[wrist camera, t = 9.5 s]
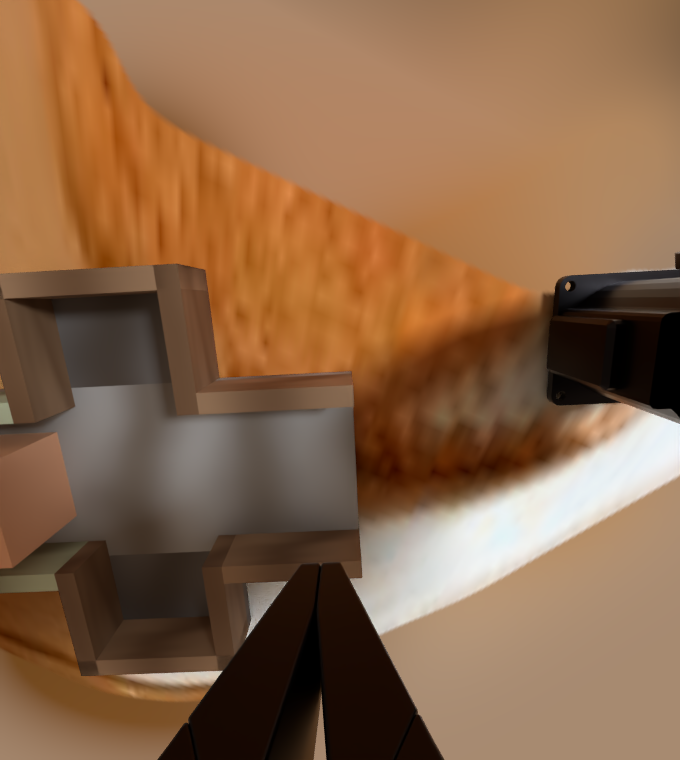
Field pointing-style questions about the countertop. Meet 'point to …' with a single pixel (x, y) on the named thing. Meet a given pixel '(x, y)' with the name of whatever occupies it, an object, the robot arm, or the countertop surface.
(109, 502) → the trap lane
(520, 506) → the countertop surface
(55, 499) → the block
